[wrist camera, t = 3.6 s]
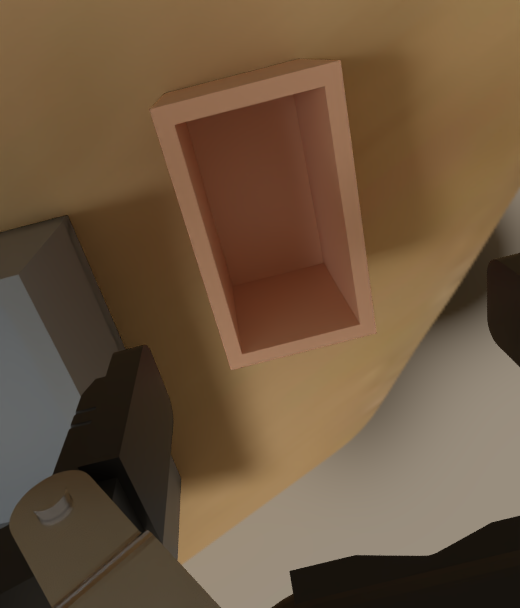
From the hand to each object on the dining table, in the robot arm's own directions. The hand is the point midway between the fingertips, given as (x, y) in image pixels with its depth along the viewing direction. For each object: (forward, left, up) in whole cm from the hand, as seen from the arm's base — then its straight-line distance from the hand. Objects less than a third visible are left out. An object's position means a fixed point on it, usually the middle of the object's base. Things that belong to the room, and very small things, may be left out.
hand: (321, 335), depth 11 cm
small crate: (0, 0, -14) cm, 14 cm away
